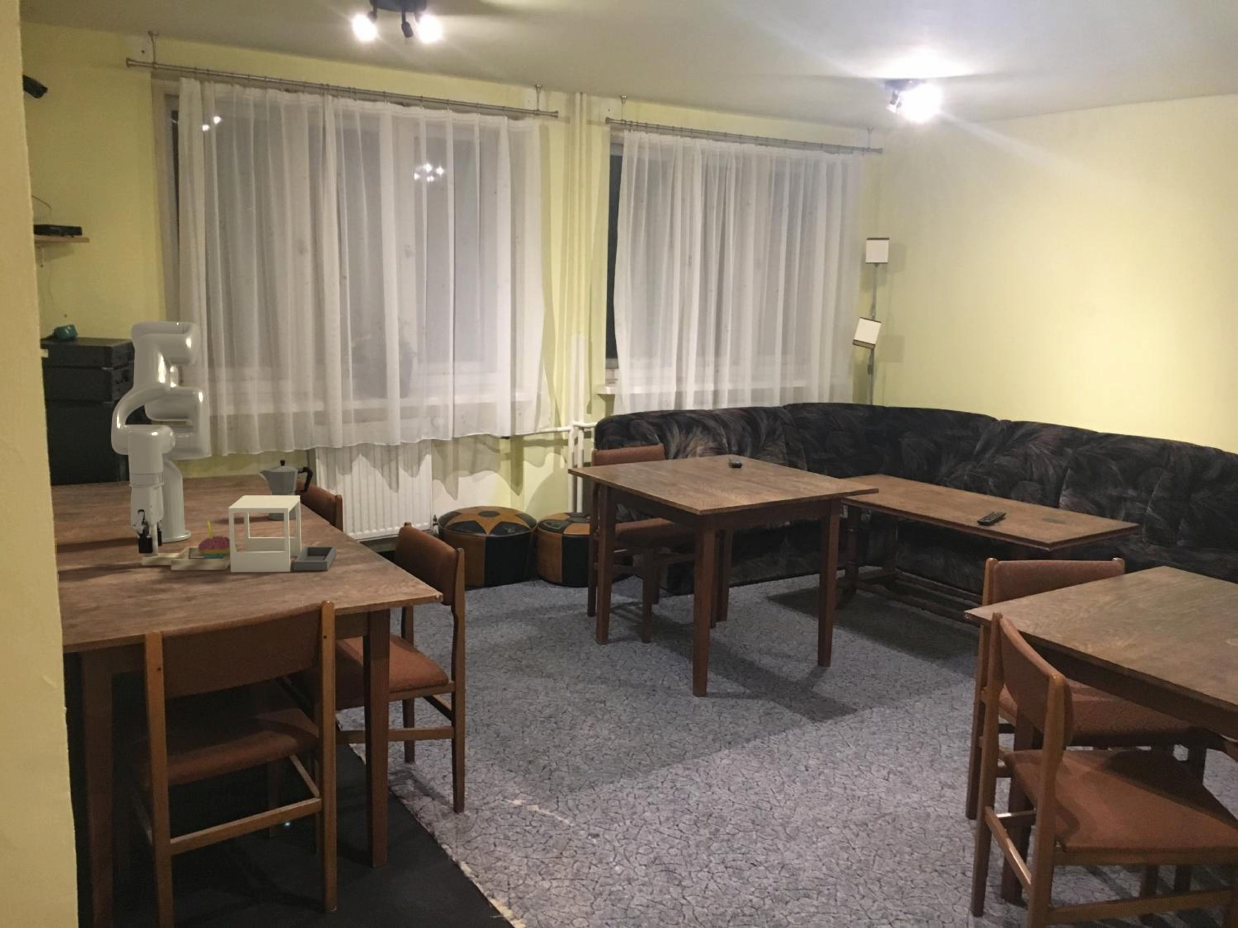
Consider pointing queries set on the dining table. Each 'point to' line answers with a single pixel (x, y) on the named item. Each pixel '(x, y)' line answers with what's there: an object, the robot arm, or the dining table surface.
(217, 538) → the cupcake
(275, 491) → the coffeepot
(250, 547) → the white open frame box
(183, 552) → the cream frame with post
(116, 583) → the dining table surface
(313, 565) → the grey shallow rectangular tray
